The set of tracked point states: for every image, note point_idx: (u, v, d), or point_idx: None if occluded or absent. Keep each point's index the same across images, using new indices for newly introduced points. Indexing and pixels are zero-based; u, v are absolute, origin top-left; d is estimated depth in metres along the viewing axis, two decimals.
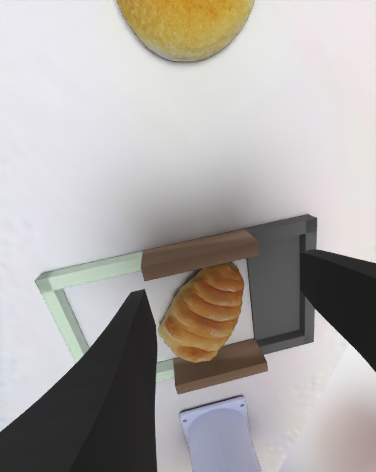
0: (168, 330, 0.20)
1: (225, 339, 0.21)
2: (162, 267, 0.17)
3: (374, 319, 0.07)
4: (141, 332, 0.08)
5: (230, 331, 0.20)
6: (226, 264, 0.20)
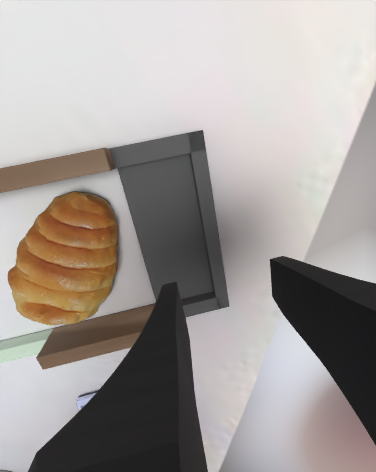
0: (8, 281, 0.15)
1: (91, 295, 0.16)
2: None
3: (332, 330, 0.07)
4: (181, 322, 0.08)
5: (94, 283, 0.15)
6: (82, 193, 0.15)
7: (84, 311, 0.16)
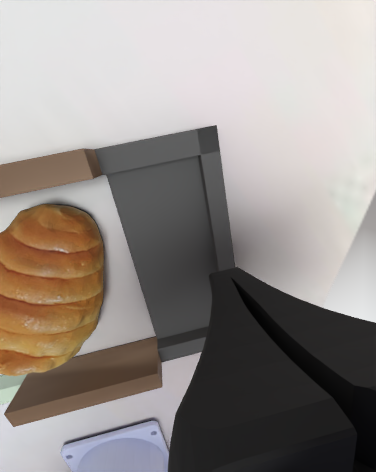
0: None
1: (69, 336, 0.12)
2: None
3: None
4: None
5: (72, 322, 0.12)
6: (55, 206, 0.11)
7: (61, 355, 0.13)
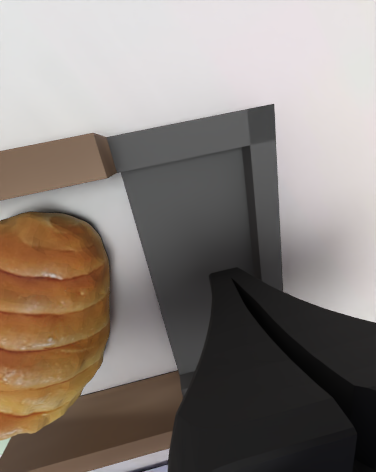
0: None
1: (66, 386, 0.09)
2: None
3: None
4: None
5: (69, 370, 0.09)
6: (44, 215, 0.08)
7: (56, 408, 0.10)
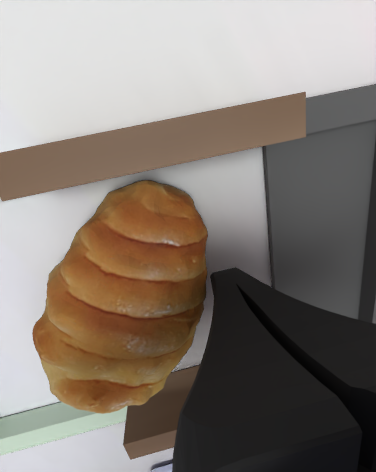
0: (35, 345, 0.09)
1: (174, 356, 0.09)
2: (44, 161, 0.06)
3: None
4: None
5: (181, 339, 0.09)
6: (157, 183, 0.08)
7: (159, 381, 0.10)
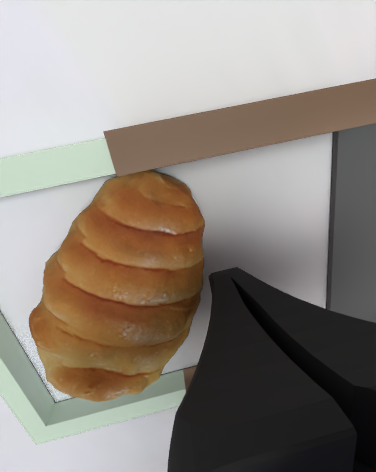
0: (31, 333, 0.09)
1: (170, 346, 0.09)
2: (161, 136, 0.06)
3: None
4: None
5: (177, 328, 0.09)
6: (154, 171, 0.08)
7: (155, 370, 0.10)
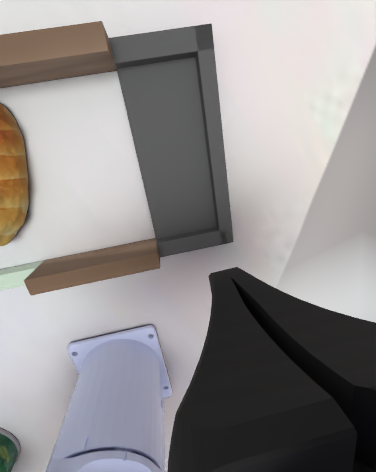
0: None
1: None
2: None
3: None
4: None
5: None
6: None
7: None
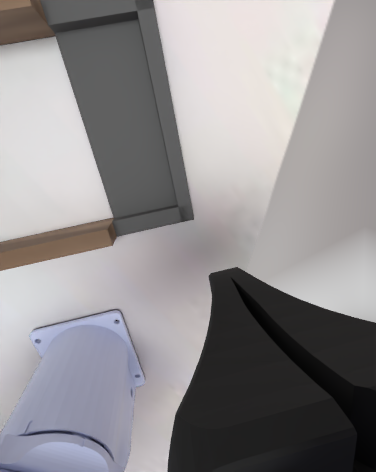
0: None
1: None
2: None
3: None
4: None
5: None
6: None
7: None
